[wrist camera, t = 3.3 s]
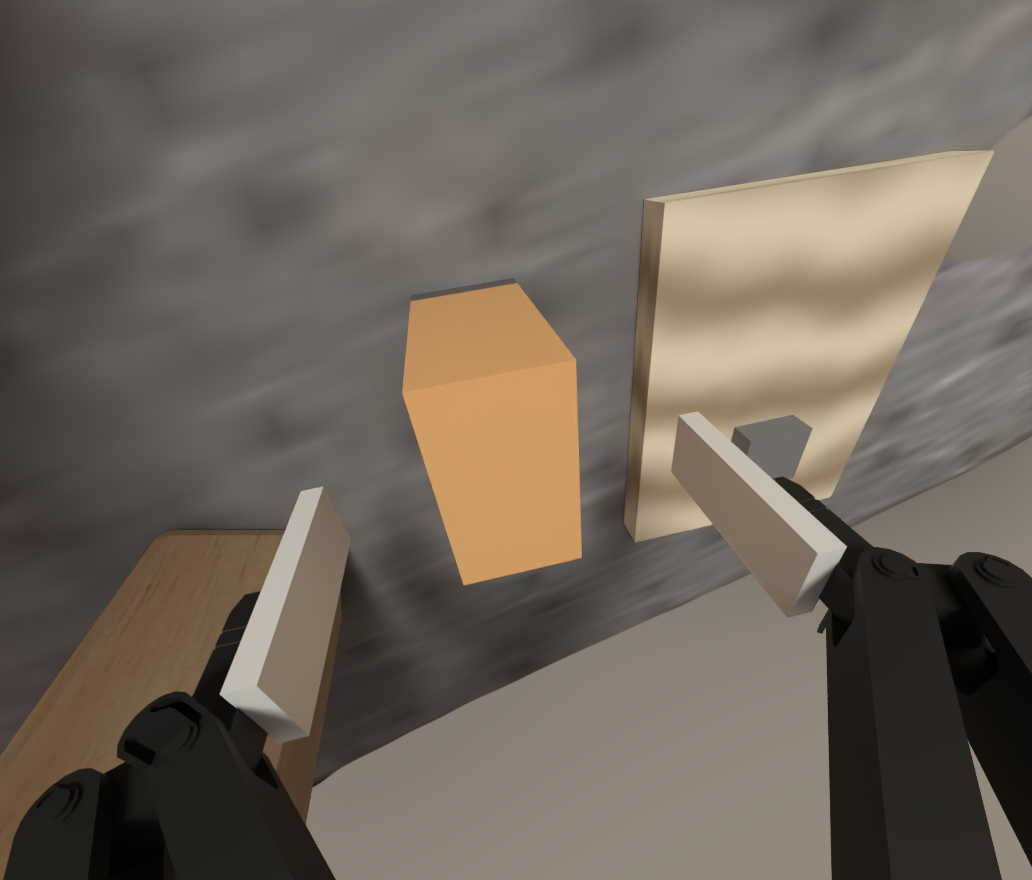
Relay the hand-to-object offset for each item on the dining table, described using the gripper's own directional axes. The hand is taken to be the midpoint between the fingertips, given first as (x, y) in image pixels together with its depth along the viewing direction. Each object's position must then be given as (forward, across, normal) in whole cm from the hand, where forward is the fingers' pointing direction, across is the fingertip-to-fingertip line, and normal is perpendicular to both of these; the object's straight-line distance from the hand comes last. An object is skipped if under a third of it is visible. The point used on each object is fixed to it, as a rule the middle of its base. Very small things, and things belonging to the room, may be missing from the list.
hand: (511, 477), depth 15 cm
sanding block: (+9, 0, 0) cm, 9 cm away
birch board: (+9, +17, -4) cm, 19 cm away
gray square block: (+7, +17, -8) cm, 20 cm away
